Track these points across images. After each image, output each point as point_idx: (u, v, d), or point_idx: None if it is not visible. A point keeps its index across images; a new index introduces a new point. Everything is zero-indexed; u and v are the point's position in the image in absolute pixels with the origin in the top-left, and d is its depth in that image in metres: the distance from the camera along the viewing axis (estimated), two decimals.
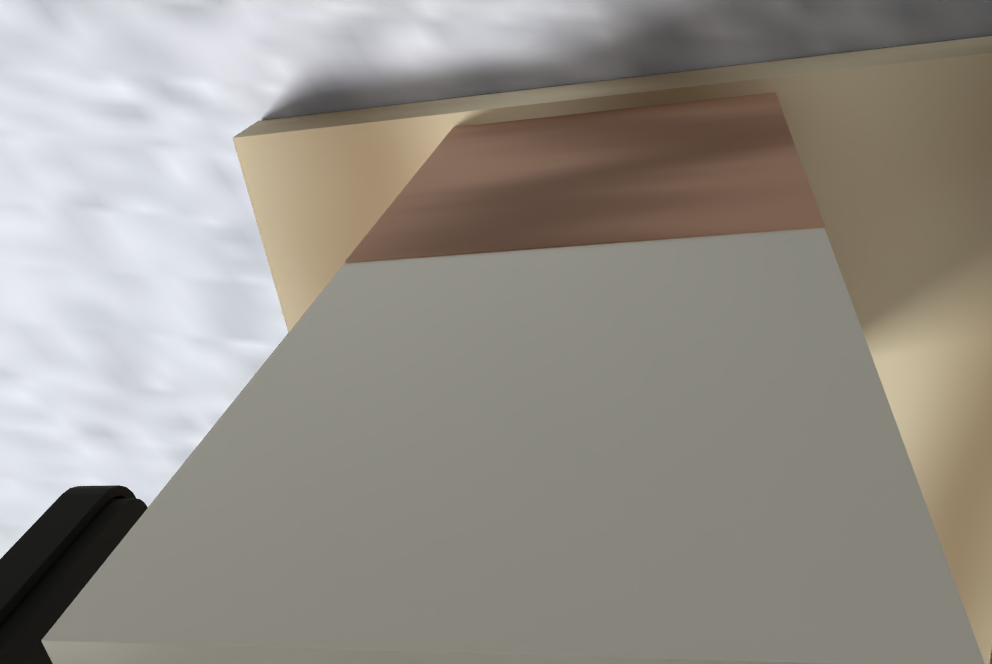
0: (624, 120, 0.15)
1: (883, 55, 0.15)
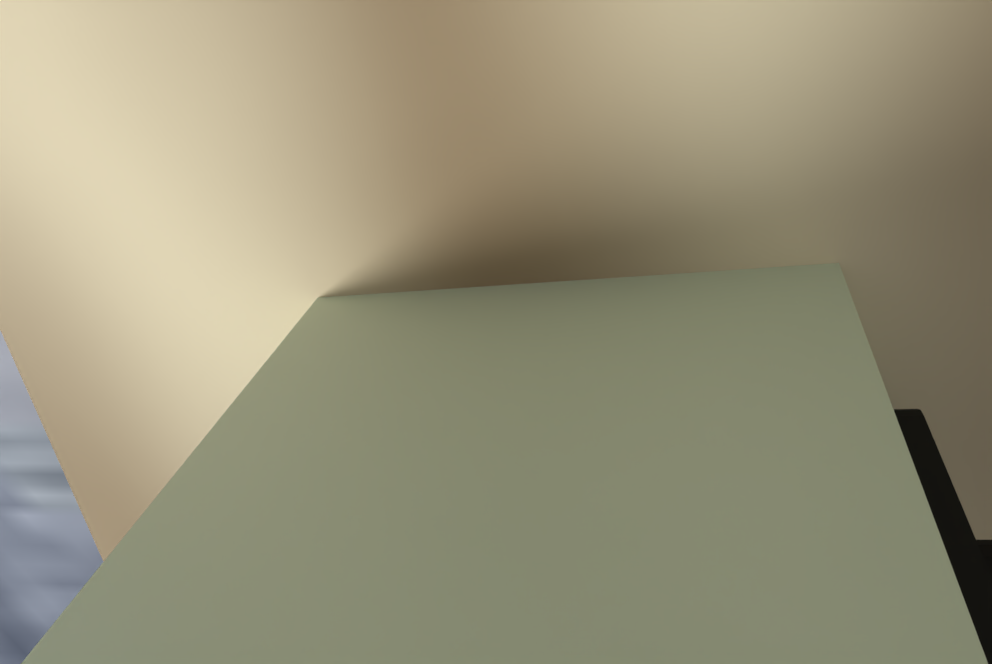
0: None
1: None
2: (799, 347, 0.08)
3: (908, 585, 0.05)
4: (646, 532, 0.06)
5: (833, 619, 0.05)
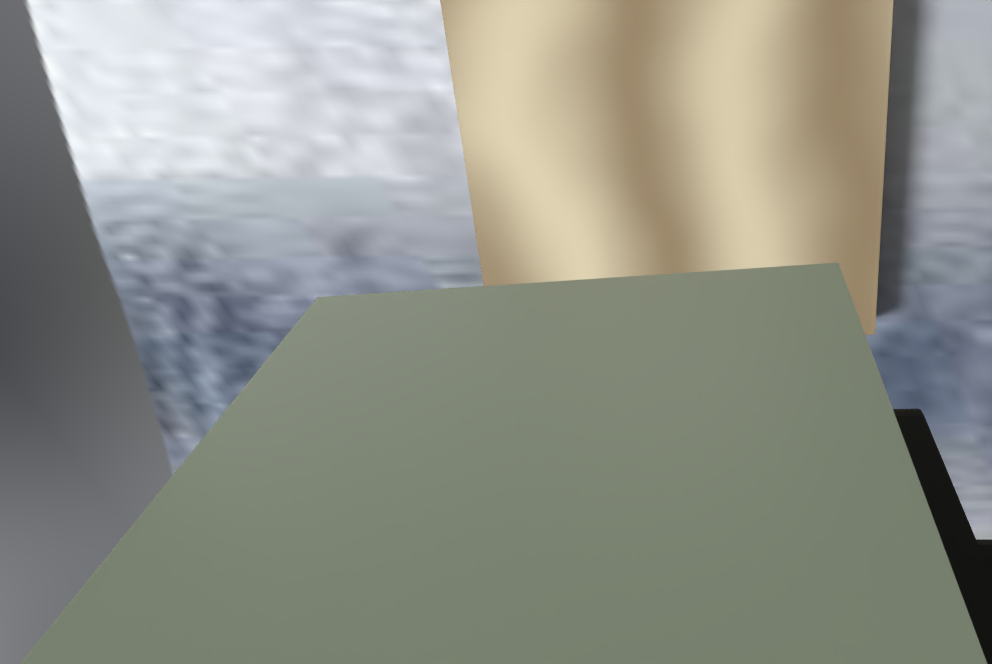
0: None
1: None
2: (798, 347, 0.08)
3: (907, 584, 0.05)
4: (644, 530, 0.06)
5: (833, 619, 0.05)
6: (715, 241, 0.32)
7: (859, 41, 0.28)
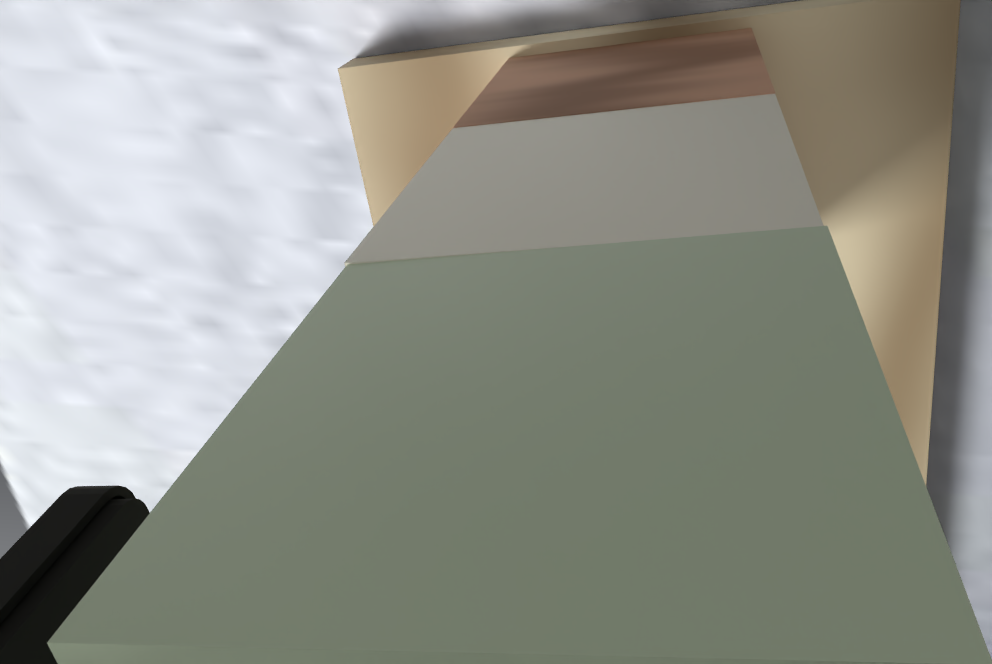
0: (639, 48, 0.20)
1: (831, 0, 0.20)
2: (789, 297, 0.08)
3: (880, 480, 0.06)
4: (653, 447, 0.07)
5: (816, 508, 0.06)
6: None
7: None
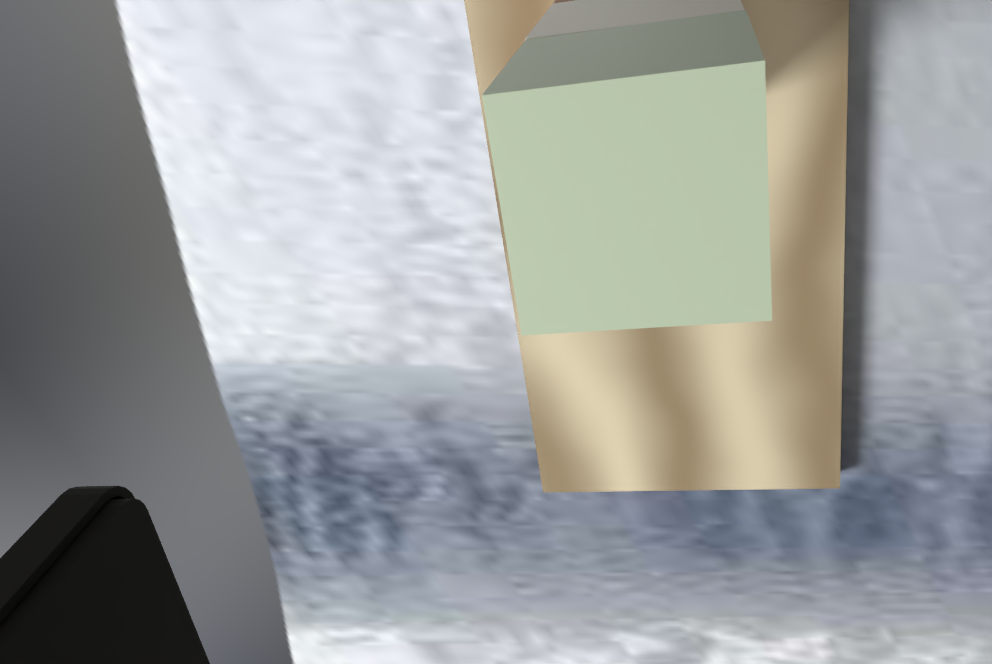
0: None
1: None
2: (725, 24, 0.21)
3: (745, 46, 0.18)
4: (672, 51, 0.19)
5: (724, 51, 0.18)
6: (716, 421, 0.42)
7: (820, 290, 0.38)
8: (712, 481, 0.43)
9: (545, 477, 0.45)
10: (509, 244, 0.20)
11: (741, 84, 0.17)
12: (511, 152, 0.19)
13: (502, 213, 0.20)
